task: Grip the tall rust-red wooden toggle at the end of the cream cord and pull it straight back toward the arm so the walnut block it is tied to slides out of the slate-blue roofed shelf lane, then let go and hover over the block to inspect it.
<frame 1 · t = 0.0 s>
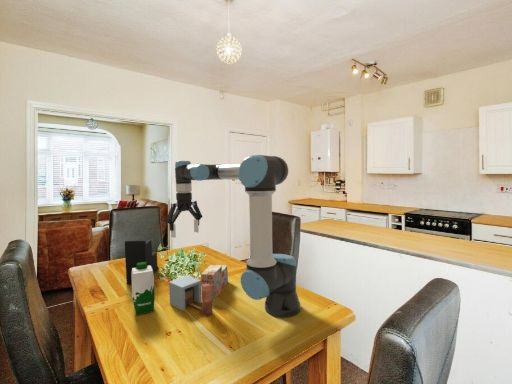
hand: (185, 234, 138), 28 cm above the table, fingers open, 13 cm apart
milk carton: (144, 310, 119), on the table
shelf lane: (185, 303, 125), on the table
tethered block: (185, 302, 125), on the table
bookend: (143, 276, 159), on the table
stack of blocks: (215, 290, 139), on the table
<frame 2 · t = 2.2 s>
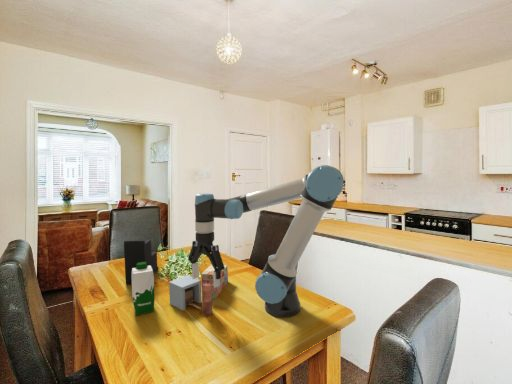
hand: (205, 282, 114), 13 cm above the table, fingers open, 13 cm apart
nothing on the table moved.
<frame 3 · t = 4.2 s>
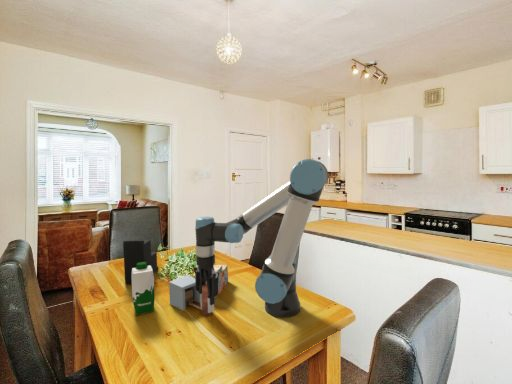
hand: (207, 309, 115), 2 cm above the table, fingers closed on tethered block, 4 cm apart
tethered block: (185, 302, 125), on the table, touching gripper
everything else where it was.
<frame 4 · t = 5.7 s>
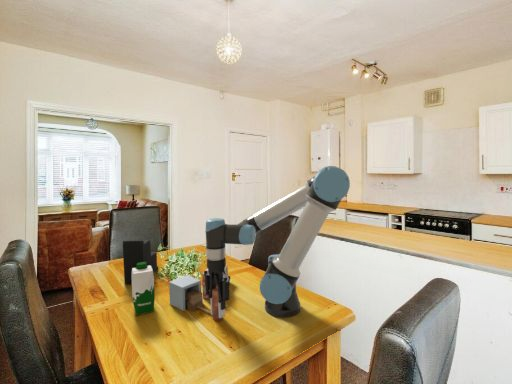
hand: (217, 314, 111), 2 cm above the table, fingers closed on tethered block, 4 cm apart
tethered block: (194, 306, 121), on the table, touching gripper
everything else where it was.
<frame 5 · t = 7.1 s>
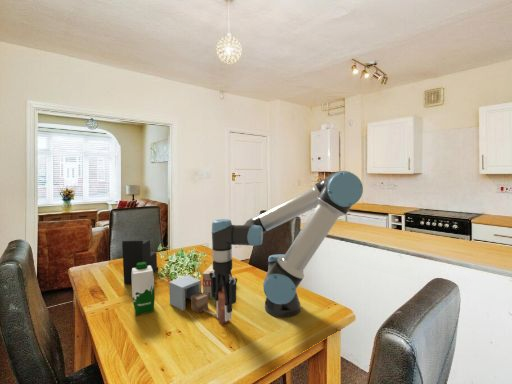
hand: (224, 317, 109), 2 cm above the table, fingers closed on tethered block, 4 cm apart
tethered block: (199, 309, 119), on the table, touching gripper
everything else where it was.
when the fingers open (2 cm above the table, at t = 7.5 s): tethered block stays where it is, on the table.
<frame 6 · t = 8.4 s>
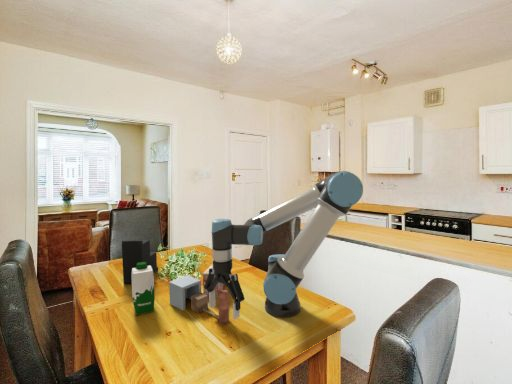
hand: (224, 312, 108), 4 cm above the table, fingers open, 13 cm apart
tethered block: (199, 309, 119), on the table
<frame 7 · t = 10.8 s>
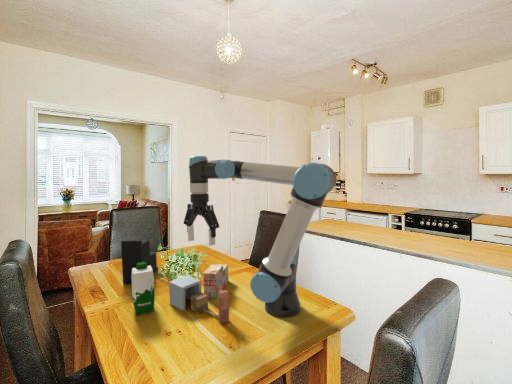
hand: (201, 242, 118), 29 cm above the table, fingers open, 13 cm apart
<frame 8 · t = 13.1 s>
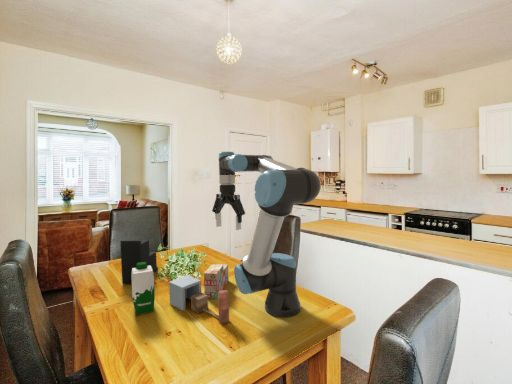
hand: (228, 228, 134), 32 cm above the table, fingers open, 13 cm apart
at the end: tethered block inside the target area (4.3 cm from its centre), on the table; tethered block moved 10.0 cm from its start; the gripper is holding nothing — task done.
